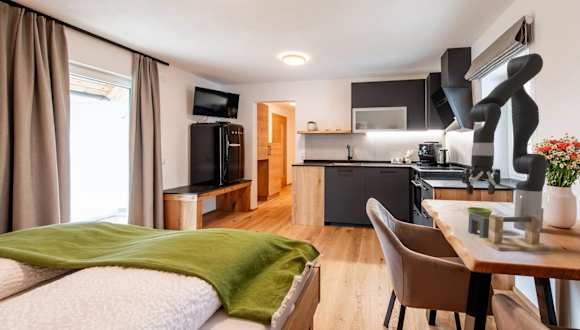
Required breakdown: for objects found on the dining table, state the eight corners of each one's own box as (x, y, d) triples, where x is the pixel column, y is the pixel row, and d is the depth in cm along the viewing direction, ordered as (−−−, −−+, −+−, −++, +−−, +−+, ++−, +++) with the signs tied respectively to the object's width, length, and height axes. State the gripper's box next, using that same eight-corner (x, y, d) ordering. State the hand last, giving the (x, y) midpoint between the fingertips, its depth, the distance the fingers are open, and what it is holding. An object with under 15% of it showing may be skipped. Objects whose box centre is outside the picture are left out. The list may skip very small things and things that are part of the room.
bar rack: (527, 240, 116) (528, 212, 115) (553, 250, 105) (555, 219, 104) (476, 240, 115) (478, 212, 114) (497, 250, 104) (499, 219, 103)
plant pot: (495, 232, 126) (496, 212, 126) (470, 230, 128) (471, 210, 128) (485, 226, 135) (486, 207, 135) (462, 225, 137) (463, 206, 137)
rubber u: (473, 232, 126) (474, 213, 126) (489, 238, 117) (490, 218, 117) (468, 232, 126) (469, 213, 125) (482, 238, 117) (483, 218, 116)
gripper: (493, 154, 123) (490, 193, 124) (459, 153, 123) (457, 192, 124) (507, 154, 116) (504, 196, 117) (471, 154, 115) (469, 195, 116)
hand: (480, 194), depth 120 cm, fingers open, 8 cm apart
